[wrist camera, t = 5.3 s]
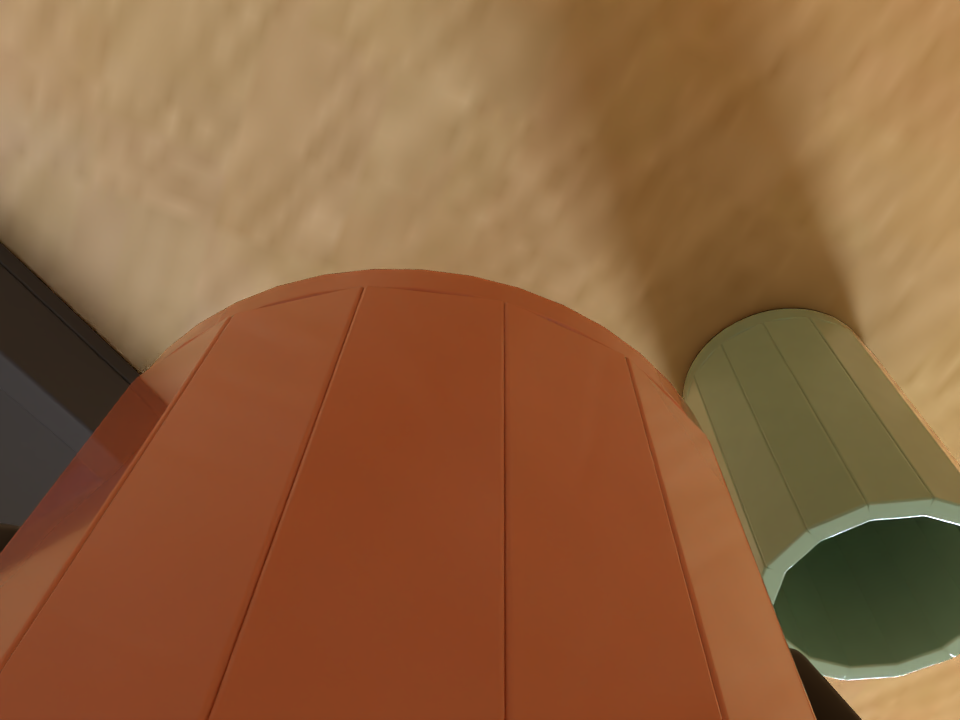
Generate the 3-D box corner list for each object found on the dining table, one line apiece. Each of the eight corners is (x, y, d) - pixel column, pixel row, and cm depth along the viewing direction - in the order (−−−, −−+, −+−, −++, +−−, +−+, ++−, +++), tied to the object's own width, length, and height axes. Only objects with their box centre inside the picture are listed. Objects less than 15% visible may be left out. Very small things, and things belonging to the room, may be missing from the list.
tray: (459, 676, 25) (455, 750, 23) (143, 808, 30) (115, 880, 27) (-67, 177, 17) (-151, 220, 15) (-391, 467, 21) (-489, 532, 19)
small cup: (897, 409, 19) (1057, 623, 14) (728, 485, 21) (809, 709, 15) (829, 271, 17) (981, 456, 12) (648, 366, 19) (707, 570, 13)
